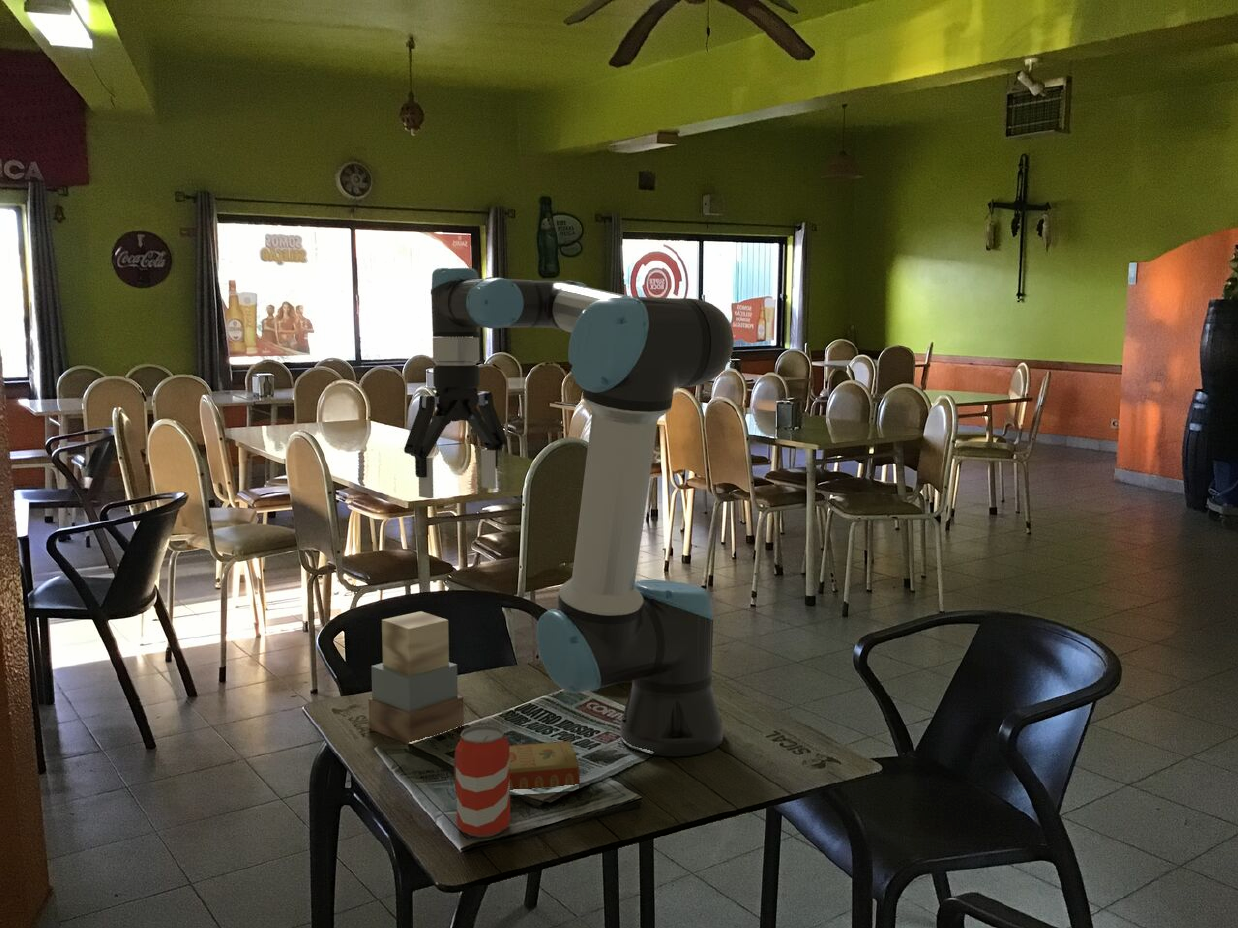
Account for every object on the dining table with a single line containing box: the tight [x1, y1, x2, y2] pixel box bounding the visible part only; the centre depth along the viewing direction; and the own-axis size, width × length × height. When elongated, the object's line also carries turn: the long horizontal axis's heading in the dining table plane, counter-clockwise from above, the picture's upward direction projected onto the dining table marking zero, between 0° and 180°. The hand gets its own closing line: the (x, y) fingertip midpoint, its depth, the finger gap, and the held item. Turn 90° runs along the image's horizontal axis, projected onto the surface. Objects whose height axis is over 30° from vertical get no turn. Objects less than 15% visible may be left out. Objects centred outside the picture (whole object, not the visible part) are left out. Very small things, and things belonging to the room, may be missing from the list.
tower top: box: [371, 661, 459, 712], centre depth 164 cm, size 9×9×5 cm
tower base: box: [368, 694, 465, 745], centre depth 165 cm, size 10×10×5 cm
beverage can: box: [455, 724, 511, 838], centre depth 131 cm, size 6×6×12 cm
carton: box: [453, 740, 581, 796], centre depth 145 cm, size 8×16×4 cm, turn 100°
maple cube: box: [381, 610, 450, 676], centre depth 163 cm, size 7×7×7 cm
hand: (458, 492), depth 181 cm, fingers open, 13 cm apart
